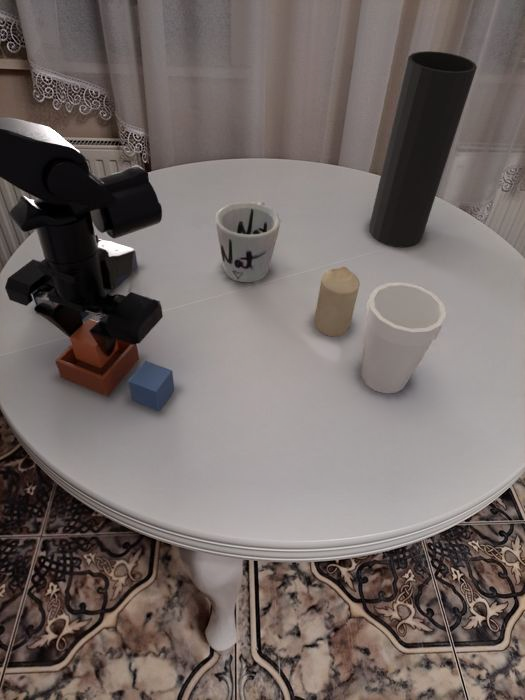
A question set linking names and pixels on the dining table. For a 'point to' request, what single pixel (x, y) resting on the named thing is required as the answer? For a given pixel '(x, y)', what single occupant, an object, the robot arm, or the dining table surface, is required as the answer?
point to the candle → (336, 301)
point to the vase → (419, 144)
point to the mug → (247, 239)
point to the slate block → (151, 385)
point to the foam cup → (398, 333)
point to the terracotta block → (89, 346)
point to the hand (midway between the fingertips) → (96, 348)
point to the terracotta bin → (94, 376)
